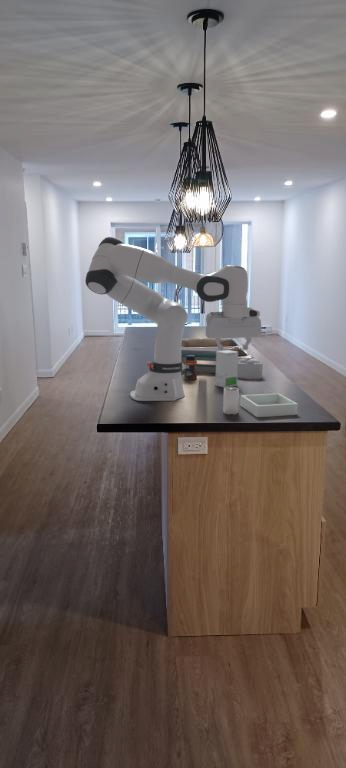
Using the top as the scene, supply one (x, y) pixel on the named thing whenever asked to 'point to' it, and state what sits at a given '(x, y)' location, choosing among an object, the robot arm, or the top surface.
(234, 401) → the white cup
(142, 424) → the top surface
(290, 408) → the sage tray
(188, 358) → the supplement bottle
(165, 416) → the top surface
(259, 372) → the lumpy-topped squat cylinder
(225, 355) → the skincare box
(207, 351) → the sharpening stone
